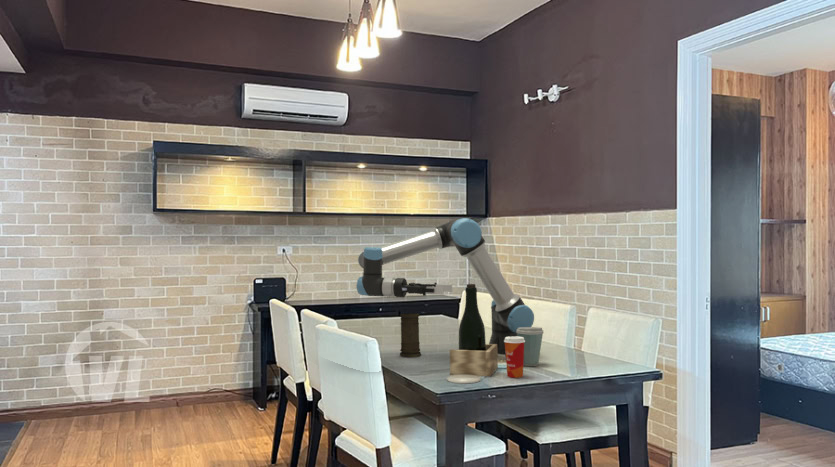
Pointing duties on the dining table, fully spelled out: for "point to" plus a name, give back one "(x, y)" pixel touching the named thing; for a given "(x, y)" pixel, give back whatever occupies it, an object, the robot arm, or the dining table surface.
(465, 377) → the coaster
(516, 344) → the paper cup
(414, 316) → the container
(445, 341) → the dining table surface
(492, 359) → the wooden box
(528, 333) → the disposable coffee cup
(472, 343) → the dark green wine bottle
